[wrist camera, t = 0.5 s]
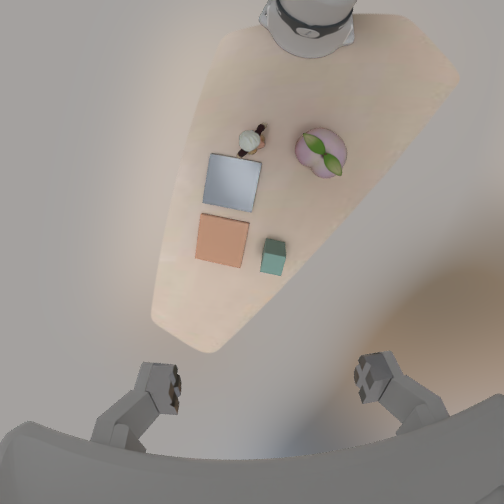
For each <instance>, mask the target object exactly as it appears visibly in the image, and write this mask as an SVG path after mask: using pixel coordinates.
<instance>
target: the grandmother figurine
mask: <svg viewBox="0 0 504 504" xmlns="http://www.w3.org/2000/svg"><path fill="white" fill-rule="evenodd" d="M266 127H267V124H266V123H262V124H260V125H259V126H258V127H257V130H256V131H255V132H253V130H251V131H244V132H243V133H242V134H241V135H240V137H239V140H240V141H239V145H240V147H241V148H242V149H241V150H240V151H239V152H238V154H237V158H242V157H243V156H245V155H246V154H247V153H248V154H251V155H252V154H254V153H256V151H257V148H259V149H261V148H263V147H264V146H265V143H263V142H264V140H265V138H264V136H263V135H261V132H262V131H264V129H265V128H266Z"/></svg>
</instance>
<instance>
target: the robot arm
mask: <svg viewBox="0 0 504 504" xmlns="http://www.w3.org/2000/svg"><path fill="white" fill-rule="evenodd" d="M356 2H357V0H268V2H267V4H266V6H265V7H264V9H263V11H262V13H261V15H260V17H259V22H260V24H261V25H263V26H264V27H265V28H267V29H268V30H269V31H270V33H271V35H272V37H273V38H274V40H275V41H276V43H277V44H278V45H279V46H280V47H281V48H283V49H284V50H286V51H287V52H289V53H291V54H293V55H296V56H299V57H304V58H319V57H323V56H326V55H329V54H331V53H332V52H334V51H335V50H336V49H338V48H339V47H341V46H346V45H349V44H352V43H353V41H354V27H353V17H352V12H353V6H354V4H355V3H356ZM266 14H267V16H265V15H266ZM349 34H350V35H349ZM358 361H359V365H357V366H356V368H355V371H354V380H355V384H356V386H358V387H359V388H360V391H359V395H360V398H361V401H362V404H364V403H370V402H375V401H379V403H380V404H381V405H382V406H384V407H385V408H386V409H387V410H388V411H389V412H390V413H391V414H392V415H393V416H395V417H396V418H397V419H398V420H399V421H400V422H401V423H402V425H401V426H400V427H399V429H398V430H397V431H396V435H397V436H395V437H391V438H388V439H384V440H381V441H377V442H374V443H369V444H365V445H361V446H356V447H352V448H347V449H342V450H336V451H331V452H325V453H319V454H312V455H304V456H296V457H285V458H273V459H254V460H214V459H194V458H182V457H172V456H164V455H156V454H149V453H146V449H145V447H144V446H143V445H142V444H141V443H140V441H139V440H138V439H139V438H140V436H141V435H142V434H143V433H144V432H145V431H146V430H147V429H148V427H149V426H150V425H151V424H152V423H153V422H154V421H155V419H156V418H157V417H158V416H159V414H173V415H177V414H178V409H179V401H178V397H179V396H180V395H181V378H180V375H178V374H177V372H178V369H177V366H176V365H173V364H161V363H150V362H143V363H142V364H141V367H140V370H139V374H138V377H137V381H136V384H135V387H134V390H130V391H129V392H128V393H127V394H126V395H124V396H123V397H122V398H121V399H120V400H118V401H117V402H116V403H115V404H114V405H113V406H111V407H110V408H109V409H108V410H107V411H105V412H104V413H103V414H102V415H101V416H99V417H98V418H97V421H96V424H95V427H94V430H93V433H92V437H91V440H90V441H88V440H84V439H81V438H78V437H74V436H71V435H68V434H65V433H62V432H59V431H56V430H53V429H51V428H48V427H45V426H43V425H40V424H38V423H35V422H32V421H27V422H24V423H22V424H21V425H19V426H17V427H16V428H14V429H13V430H11V431H10V432H8V433H7V434H6V435H5V437H4V438H3V439H2V441H1V443H0V504H504V395H502V394H495V395H493V396H491V397H489V398H487V399H486V400H484V401H482V402H480V403H478V404H476V405H474V406H472V407H470V408H468V409H466V410H463V411H461V412H459V413H457V414H455V415H452V416H449V414H448V412H447V410H446V408H445V406H444V403H443V401H442V399H441V398H440V397H439V396H438V395H436V394H435V393H433V392H432V391H430V390H428V389H427V388H425V387H424V386H422V385H420V384H419V383H418V382H416V381H415V380H413V379H412V378H410V377H409V376H407V375H403V373H402V371H401V369H400V367H399V365H398V363H397V361H396V359H395V357H394V355H393V353H392V352H391V351H385V352H378V353H372V354H366V355H361V356H360V358H359V360H358Z"/></svg>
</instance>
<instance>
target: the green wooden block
mask: <svg viewBox="0 0 504 504" xmlns="http://www.w3.org/2000/svg"><path fill="white" fill-rule="evenodd" d="M285 259H286V250H285V242H281V241H277V240H272V239H267V238H266V241H265V245H264V250H263V254H262V261H261V269H260V272H264V273H269V274H274V275H278V276H281V274H282V270H283V266H284V263H285Z"/></svg>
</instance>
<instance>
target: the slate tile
mask: <svg viewBox="0 0 504 504" xmlns="http://www.w3.org/2000/svg"><path fill="white" fill-rule="evenodd" d="M261 165H262V163H260V162H255V161H250V160H245V159H240V158H235V157H229V156H223V155H218V154H210V159H209V165H208V171H207V177H206V183H205V190H204V196H203V203H206V204H211V205H217V206H222V207H227V208H231V209H236V210H241V211H246V212H252V208H253V203H254V198H255V194H256V189H257V184H258V179H259V174H260V170H261Z"/></svg>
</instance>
